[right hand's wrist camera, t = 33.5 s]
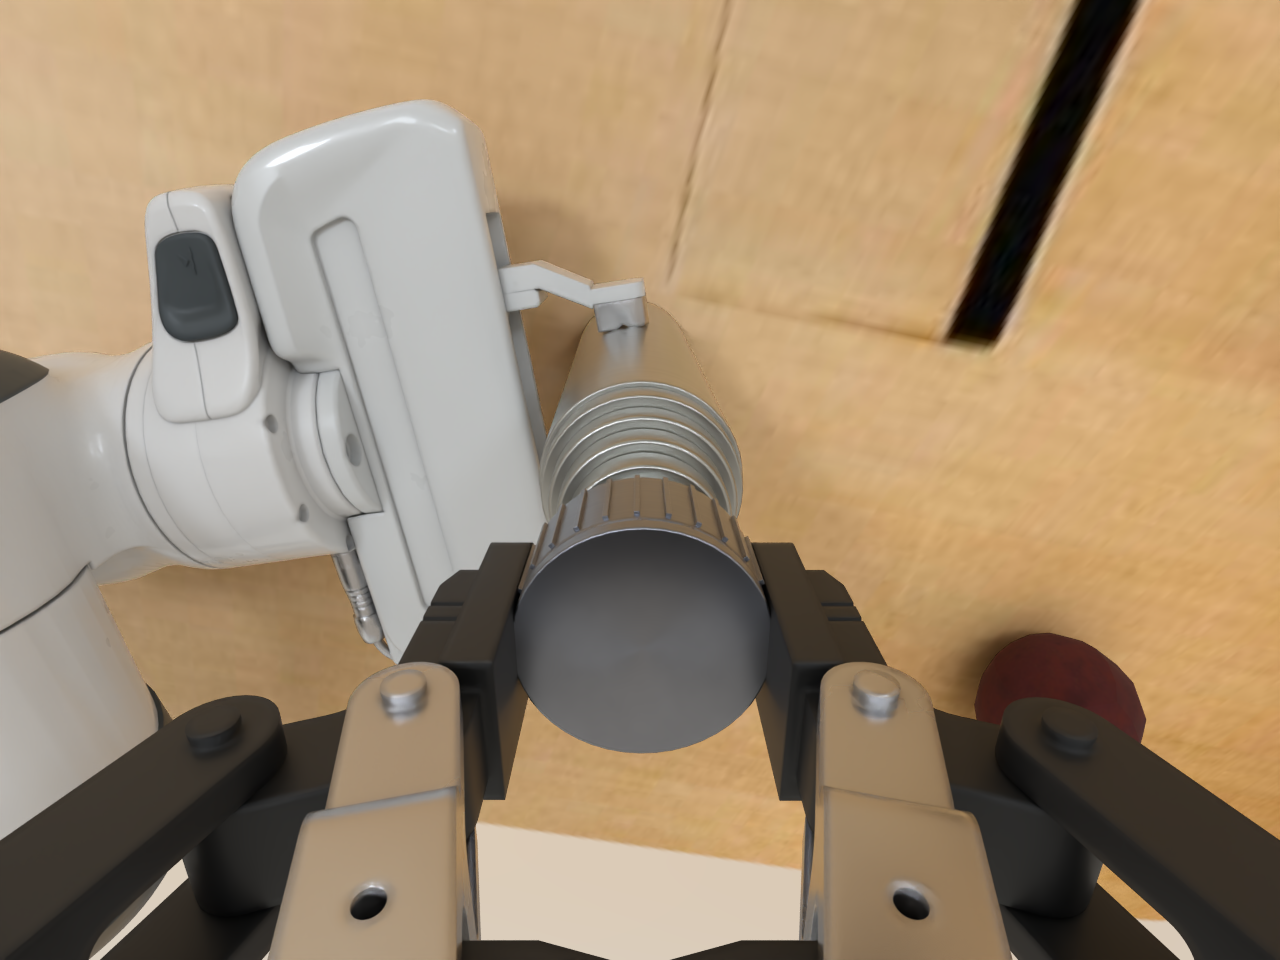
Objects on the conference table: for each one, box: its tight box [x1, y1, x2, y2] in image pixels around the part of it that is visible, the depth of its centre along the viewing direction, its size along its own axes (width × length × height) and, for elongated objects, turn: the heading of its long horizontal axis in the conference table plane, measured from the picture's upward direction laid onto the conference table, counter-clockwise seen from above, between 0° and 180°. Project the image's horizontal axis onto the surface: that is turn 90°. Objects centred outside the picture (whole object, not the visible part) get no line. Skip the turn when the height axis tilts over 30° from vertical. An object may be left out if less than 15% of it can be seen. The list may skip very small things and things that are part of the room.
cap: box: [514, 475, 771, 753], centre depth 11 cm, size 4×4×2 cm
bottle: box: [539, 302, 743, 523], centre depth 21 cm, size 5×5×22 cm
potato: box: [974, 633, 1146, 744], centre depth 34 cm, size 7×8×7 cm
